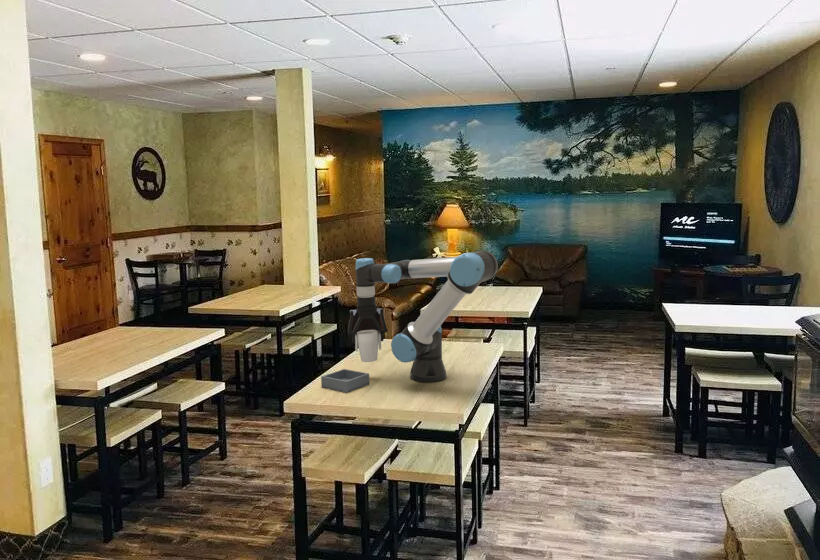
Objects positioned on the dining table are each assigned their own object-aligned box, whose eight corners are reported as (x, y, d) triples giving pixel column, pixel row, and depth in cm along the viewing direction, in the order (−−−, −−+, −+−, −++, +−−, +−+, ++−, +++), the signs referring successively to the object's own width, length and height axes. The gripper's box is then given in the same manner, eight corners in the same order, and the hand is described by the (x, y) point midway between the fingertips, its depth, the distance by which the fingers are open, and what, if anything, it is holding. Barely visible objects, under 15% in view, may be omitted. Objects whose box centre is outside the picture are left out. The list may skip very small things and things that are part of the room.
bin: (369, 384, 273) (369, 373, 273) (346, 392, 263) (346, 381, 262) (344, 379, 282) (344, 368, 281) (321, 387, 271) (321, 376, 270)
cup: (368, 364, 275) (366, 335, 273) (354, 361, 281) (351, 332, 279) (384, 359, 281) (382, 330, 279) (370, 356, 287) (367, 328, 286)
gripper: (391, 293, 282) (393, 346, 285) (339, 296, 279) (341, 349, 282) (393, 295, 275) (395, 350, 278) (339, 298, 272) (342, 353, 275)
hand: (368, 349), depth 280 cm, fingers closed on cup, 9 cm apart
